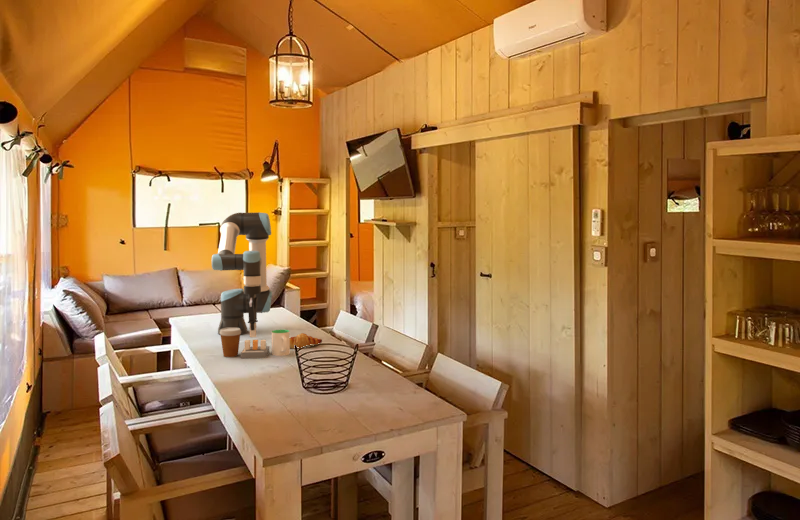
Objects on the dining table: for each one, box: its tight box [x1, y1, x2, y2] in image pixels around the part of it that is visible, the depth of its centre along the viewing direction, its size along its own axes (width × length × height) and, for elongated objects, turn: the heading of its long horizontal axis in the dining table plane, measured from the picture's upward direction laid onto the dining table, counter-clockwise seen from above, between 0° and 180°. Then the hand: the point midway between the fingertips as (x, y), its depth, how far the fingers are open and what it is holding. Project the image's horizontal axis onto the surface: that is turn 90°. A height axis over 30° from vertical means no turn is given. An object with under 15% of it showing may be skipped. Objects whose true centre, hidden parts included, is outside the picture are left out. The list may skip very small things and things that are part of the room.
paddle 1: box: [244, 339, 251, 350], centre depth 268 cm, size 3×2×4 cm, turn 6°
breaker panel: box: [240, 345, 270, 359], centre depth 269 cm, size 12×11×3 cm
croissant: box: [290, 332, 323, 350], centre depth 286 cm, size 21×10×8 cm
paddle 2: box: [252, 339, 259, 350], centre depth 269 cm, size 3×2×4 cm, turn 6°
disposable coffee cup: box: [219, 327, 242, 358], centre depth 267 cm, size 10×10×12 cm
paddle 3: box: [260, 339, 267, 350], centre depth 269 cm, size 3×2×4 cm, turn 6°
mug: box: [271, 329, 291, 357], centre depth 270 cm, size 12×8×10 cm, turn 31°
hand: (253, 336), depth 268 cm, fingers closed
